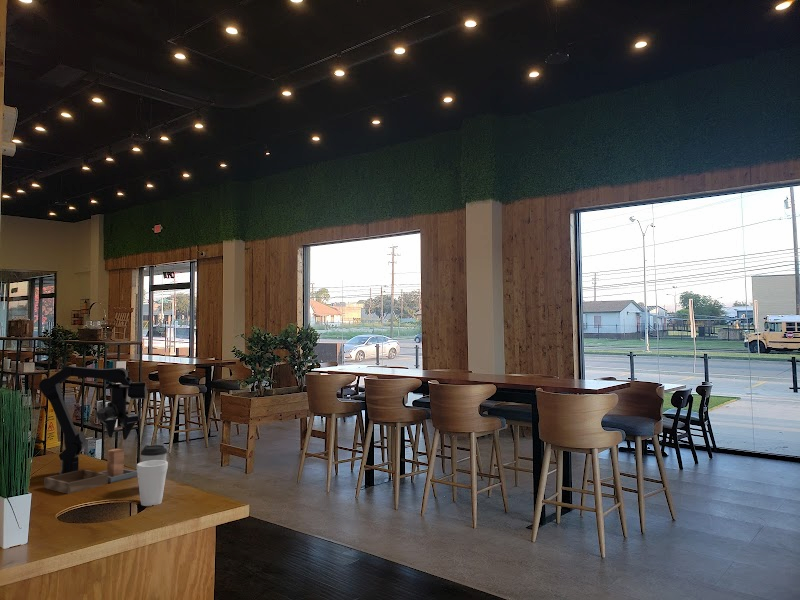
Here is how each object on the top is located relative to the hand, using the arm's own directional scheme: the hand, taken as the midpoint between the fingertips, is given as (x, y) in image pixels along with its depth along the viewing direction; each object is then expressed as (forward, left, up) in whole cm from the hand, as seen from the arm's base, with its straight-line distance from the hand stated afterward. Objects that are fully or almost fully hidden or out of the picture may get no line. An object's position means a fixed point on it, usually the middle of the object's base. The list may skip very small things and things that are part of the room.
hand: (117, 438), depth 234 cm
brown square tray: (+9, -22, -13) cm, 27 cm away
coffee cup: (+33, -8, -13) cm, 36 cm away
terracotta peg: (+11, -8, -12) cm, 18 cm away
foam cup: (+48, -20, -13) cm, 54 cm away
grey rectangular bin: (+11, -8, -13) cm, 19 cm away
